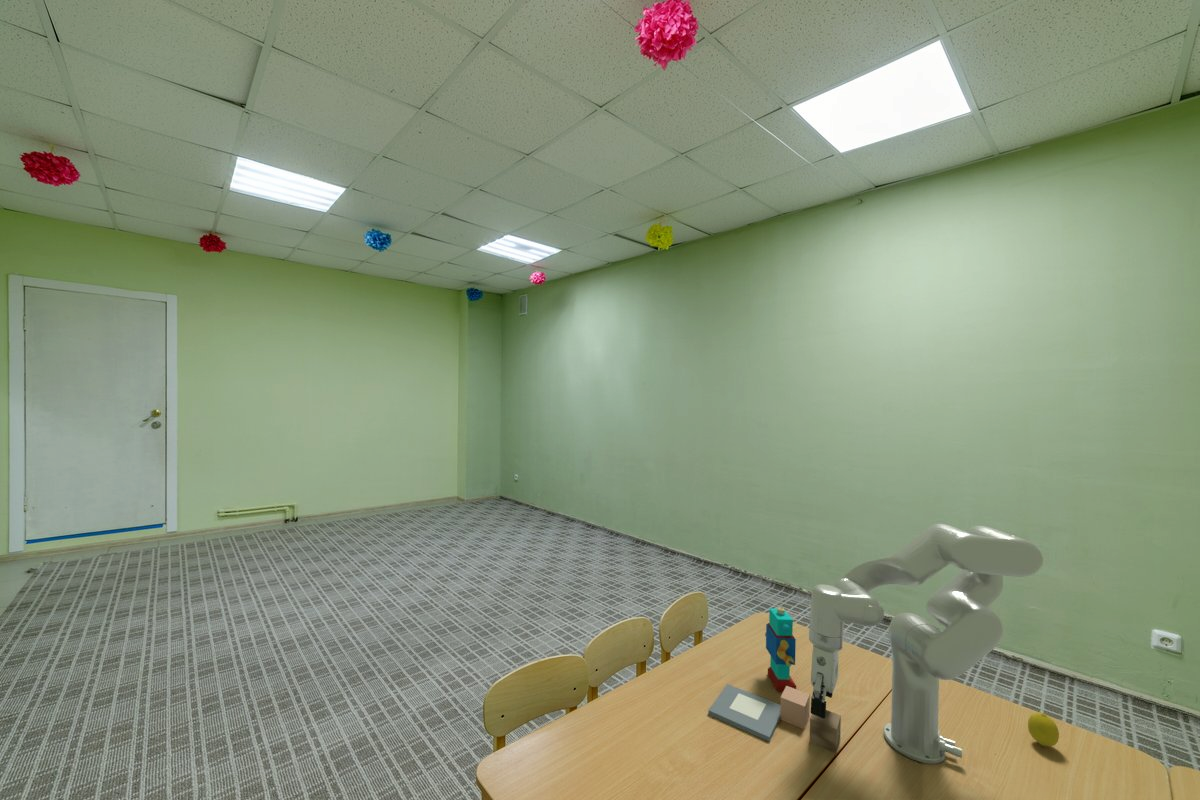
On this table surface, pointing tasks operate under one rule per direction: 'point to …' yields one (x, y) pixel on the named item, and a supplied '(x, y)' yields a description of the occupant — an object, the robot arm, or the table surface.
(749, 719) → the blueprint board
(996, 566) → the robot arm
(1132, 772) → the table surface
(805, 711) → the terracotta block
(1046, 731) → the lemon
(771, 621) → the toy robot
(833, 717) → the walnut block
